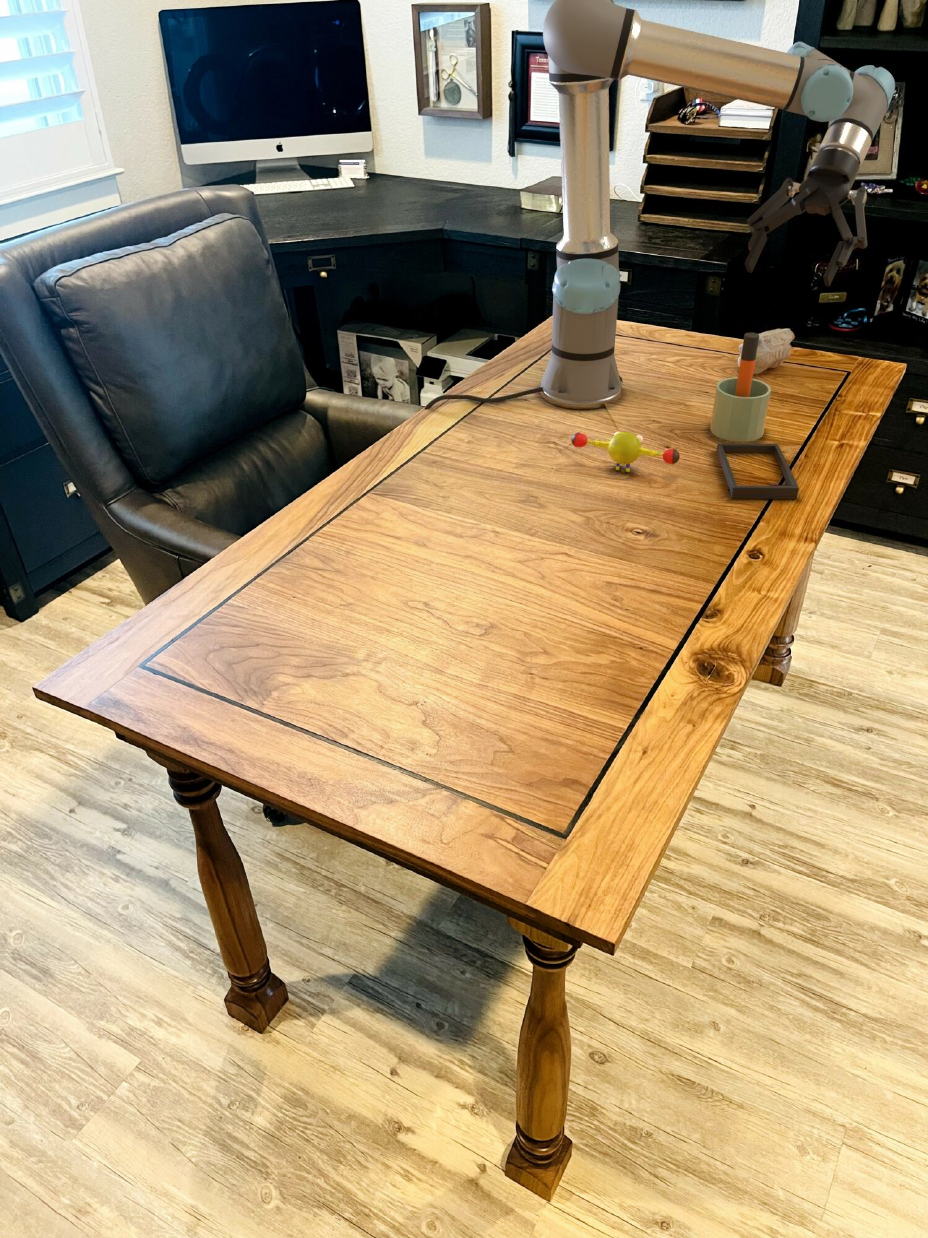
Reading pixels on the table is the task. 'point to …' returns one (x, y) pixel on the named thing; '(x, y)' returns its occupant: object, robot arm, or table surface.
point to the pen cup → (740, 411)
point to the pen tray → (758, 491)
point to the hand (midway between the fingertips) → (786, 274)
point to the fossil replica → (771, 349)
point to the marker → (747, 364)
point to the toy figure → (625, 449)
